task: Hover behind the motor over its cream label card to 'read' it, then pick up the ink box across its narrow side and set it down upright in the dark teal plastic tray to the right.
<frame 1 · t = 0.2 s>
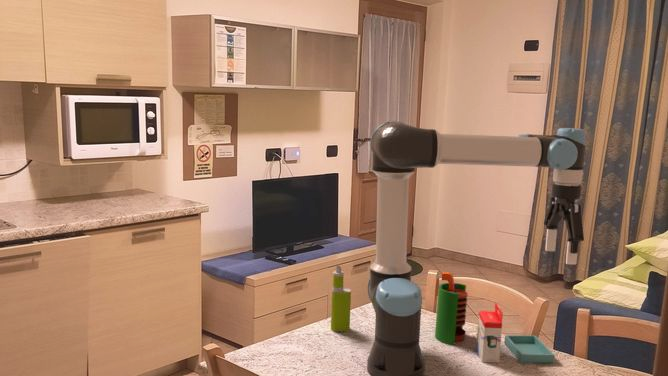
hand: (560, 257, 165), 28 cm above the table, fingers open, 13 cm apart
tray: (528, 352, 165), on the table
label card: (482, 337, 175), on the table
ink box: (487, 356, 163), on the table
motor: (449, 338, 175), on the table
vape: (339, 329, 179), on the table
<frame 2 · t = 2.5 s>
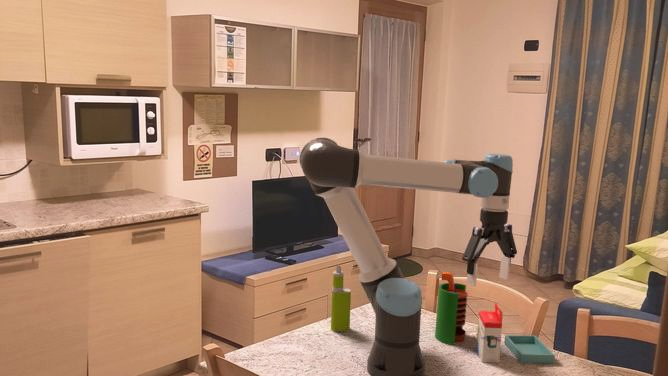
hand: (487, 281, 165), 20 cm above the table, fingers open, 13 cm apart
nothing on the table moved.
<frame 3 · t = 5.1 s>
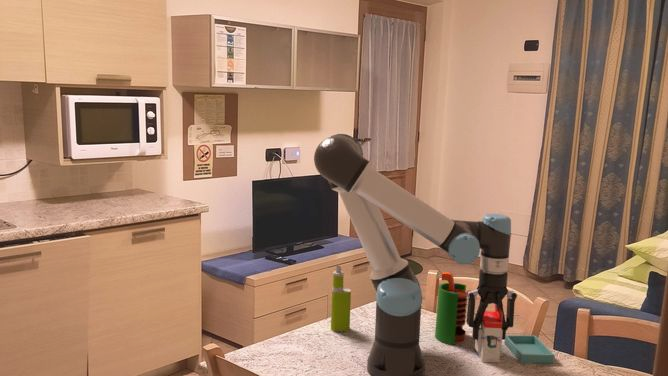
hand: (487, 349, 162), 2 cm above the table, fingers closed on ink box, 5 cm apart
ink box: (487, 356, 163), on the table, touching gripper
everything else where it was.
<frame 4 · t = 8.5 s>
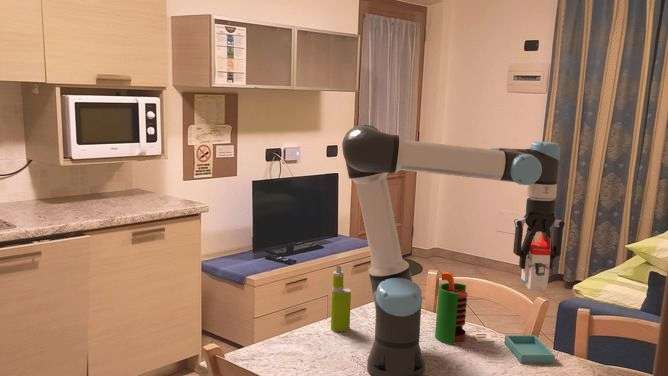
hand: (534, 279, 162), 22 cm above the table, fingers closed on ink box, 5 cm apart
ink box: (533, 286, 162), point 20 cm above the table, touching gripper
everything else where it was.
when the fingers open (4 cm above the table, at t = 11.8 s): ink box drops 2 cm, resting on tray.
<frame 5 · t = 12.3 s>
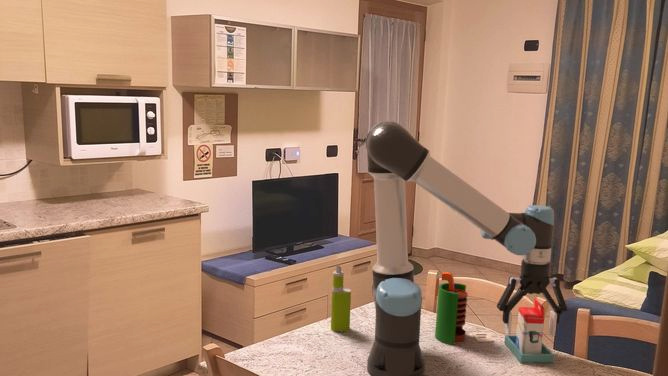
hand: (529, 334, 165), 6 cm above the table, fingers open, 12 cm apart
ink box: (527, 351, 165), resting on tray
everything else where it was.
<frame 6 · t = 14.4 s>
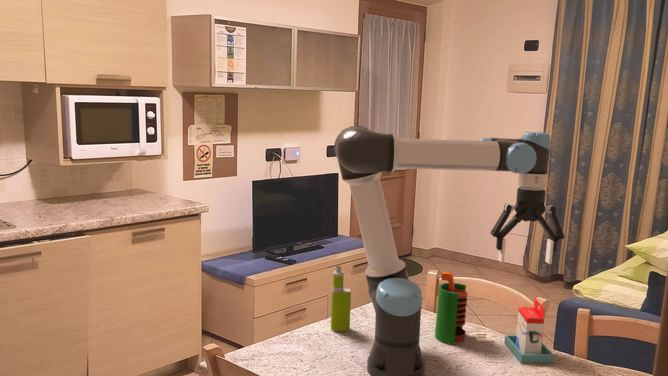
hand: (524, 262, 164), 26 cm above the table, fingers open, 13 cm apart
nothing on the table moved.
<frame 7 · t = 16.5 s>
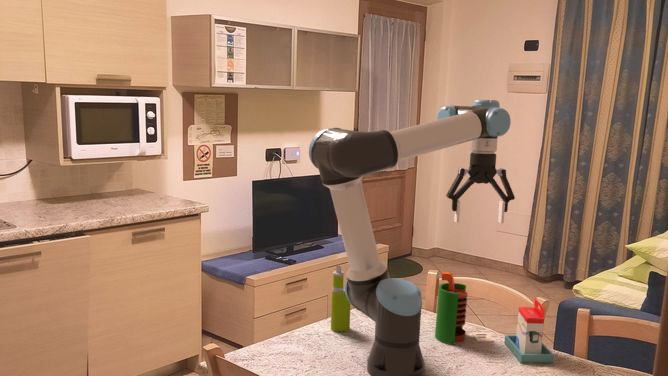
hand: (478, 222, 175), 35 cm above the table, fingers open, 13 cm apart
nothing on the table moved.
at the end: ink box inside the target area on the tray (0.1 cm from its centre), point 0.3 cm above the tray's base; ink box tilted 0°; the gripper is holding nothing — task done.
